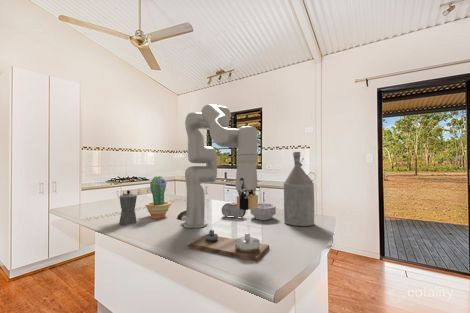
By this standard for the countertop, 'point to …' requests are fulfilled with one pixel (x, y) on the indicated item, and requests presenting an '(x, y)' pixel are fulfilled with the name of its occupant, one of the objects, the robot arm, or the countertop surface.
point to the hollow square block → (249, 201)
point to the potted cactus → (158, 198)
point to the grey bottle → (298, 196)
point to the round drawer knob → (211, 236)
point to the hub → (247, 244)
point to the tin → (232, 210)
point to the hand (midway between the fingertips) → (247, 207)
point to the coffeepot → (128, 209)
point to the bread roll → (182, 214)
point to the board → (227, 248)
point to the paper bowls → (264, 211)
